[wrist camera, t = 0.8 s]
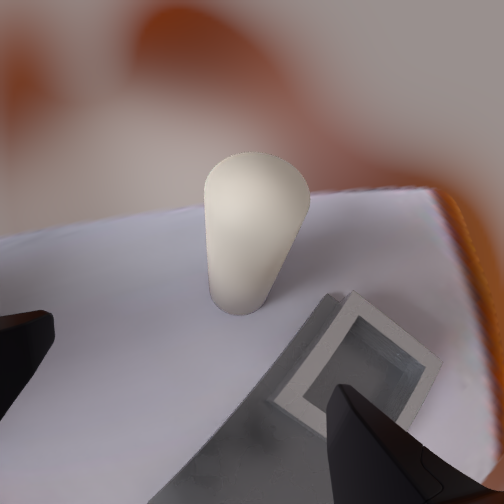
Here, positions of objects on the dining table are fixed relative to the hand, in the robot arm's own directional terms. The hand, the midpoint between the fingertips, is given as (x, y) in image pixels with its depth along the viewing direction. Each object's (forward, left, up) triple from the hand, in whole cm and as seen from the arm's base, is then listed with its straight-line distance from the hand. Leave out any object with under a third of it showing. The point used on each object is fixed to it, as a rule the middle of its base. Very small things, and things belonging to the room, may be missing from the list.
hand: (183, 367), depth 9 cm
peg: (+7, +3, -13) cm, 15 cm away
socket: (0, -8, -13) cm, 16 cm away
